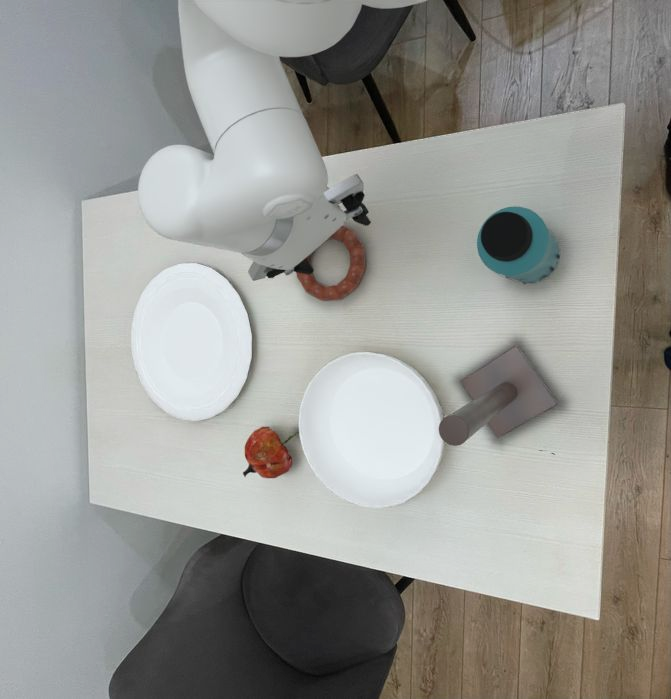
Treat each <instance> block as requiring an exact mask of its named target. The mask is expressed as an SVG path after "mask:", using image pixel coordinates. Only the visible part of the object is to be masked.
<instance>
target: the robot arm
mask: <svg viewBox="0 0 671 699" xmlns="http://www.w3.org/2000/svg"><path fill="white" fill-rule="evenodd" d="M427 1H428V0H177V3H178V4H177V8H178V9H177V11H178V22H179V32H180V41H181V52H182V60H183V67H184V73H185V79H186V83H187V86H188V90H189V93H190V96H191V99H192V102H193V105H194V107H195V110H196V112H197V116H198V118H199V121H200V123H201V126H202V128H203V131H204V133H205V135H206V138H207V141H208V143H209V145H210V147H211V150H212V153H213V154H212V153H209V152H206V151H204V150H202V149H198V148H197V147H194V146H191V145H187V144H172V145H167V146H165V147H162V148H161V149H159V150H158V151H156V152H155V153H153V154H152V156H150V157H149V158H148V160H147V161H146V162H145V165H144V166H143V169H142V170H141V173H140V176H139V180H138V184H137V201H138V207H139V210H140V213H141V215H142V217H143V219H144V221H145V222H146V224H147V225H148V226H149V227H150V228H151V230H153V232H155V233H157V234H158V235H159V236H161V237H163V238H165V239H167V240H171V241H175V242H181V243H185V244H192V245H196V246H201V247H207V248H212V249H217V250H223V251H228V252H233V253H239V254H241V255H242V256H244V257H246V258H247V259H249V260H250V261H252V263H251V265H250V266H249V269H248V270H247V274H248V275H249V277H250V279H251V281H253V282H255V281H258V280H262V279H265V278H267V279H274V278H275V277H277V276H279V275H281V274H284V275H285V276H289V275H291V274H293V273H303V274H309V275H310V274H312V275H313V273H314V268H313V266H312V264H311V262H310V263H309V261H308V260H307V258H306V257H307V256H308V255H310V254H311V253H312V254H313V252H315V251H316V250H317V249H318V248H319V247H320V246H322V245H323V244H324V243H325V242H326V241H327V240H329V239H328V238H329V237H330V236H331V235H333V234H334V233H335V232H336V231H337V230H338V229H339V228H340V227H341V226H344V224H345V223H346V221H347V220H350V219H352V220H353V222H356V223H358V224H360V225H362V226H365V227H368V226H370V225H371V223H372V221H371V219H370V218H369V217H368V214H369V213H370V211H369V209H368V207H367V206H366V205H365V203H363V200H364V198H365V193H364V190H365V189H364V188H365V185H364V182H363V180H362V179H361V176H360V175H359V174H358V173H355V174H353V175H351V176H349V177H348V178H345V179H344V180H342V181H340V182H339V183H337V184H335V185H333V186H332V187H329V186H328V184H329V175H328V170H327V166H326V163H325V161H324V159H323V157H322V154H321V151H320V149H319V147H318V145H317V142H316V140H315V138H314V135H313V132H312V131H311V129H310V126H309V124H308V121H307V119H306V118H305V115H304V114H303V111H302V108H301V106H300V104H299V101H298V100H297V97H296V95H295V92H294V90H293V87H292V86H291V83H290V80H289V78H288V76H287V73H286V71H285V68H284V66H283V64H282V60H281V59H280V57H281V58H301V57H307V56H311V55H312V56H313V55H316V54H318V53H321V52H323V51H326V50H328V49H329V48H332V47H333V46H335V45H336V44H337V43H338V42H340V41H341V40H342V39H343V38H344V37H345V36H346V35H347V34H348V33H349V32H350V31H351V29H352V28H353V26H354V25H355V23H356V20H357V19H358V16H359V14H360V12H361V10H362V6H367V7H370V8H373V9H374V8H375V9H381V10H382V9H383V10H385V9H388V10H389V9H399V8H405V7H409V6H414V5H418V4H422V3H425V2H427ZM340 204H342V205H343V207H344V208H345V210H343V209H342V208H341V207H340Z"/></svg>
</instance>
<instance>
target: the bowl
mask: <svg viewBox="0 0 671 699" xmlns="http://www.w3.org/2000/svg"><path fill="white" fill-rule="evenodd" d="M444 418H445V417H444V414H443V410H442V406H441V404H440V401H439V400H438V397H437V395H436V393H435V392H434V390H433V388H432V387H431V386H430V384H429V383H428V381H427V380H426V378H424V377H423V376H422V375H421V374H420V373H419V372H418V371H417V370H416V369H415V368H414V367H412V366H411V365H409V364H407V363H406V362H404V361H403V360H401V359H399V358H397V357H394V356H392V355H388V354H383V353H379V352H374V351H373V352H372V351H355V352H350V353H346V354H342V355H340V356H338V357H336V358H335V359H332V360H330V361H329V362H327V363H326V364H325V365H324V366H323V367H321V368H320V369H319V370H318V371H317V372H316V373H315V374H314V376H313V377H312V379H311V380H310V381H309V383H308V384H307V387H306V389H305V390H304V393H303V395H302V399H301V402H300V405H299V412H298V432H299V433H298V434H299V435H298V436H299V439H300V443H301V448H302V451H303V454H304V456H305V459H306V460H307V463H308V465H309V467H310V468H311V470H312V471H313V473H314V475H315V476H316V477H317V478H318V479H319V481H320V482H321V483H322V484H323V485H324V486H325V487H326V488H327V489H328V490H329V491H331V493H333V494H335V495H336V496H337V497H339V498H341V499H342V500H344V501H346V502H348V503H350V504H354V505H357V506H360V507H363V508H372V509H384V508H385V509H386V508H391V507H395V506H398V505H402V504H403V503H406V502H408V501H409V500H411V499H413V498H414V497H416V496H417V495H418V494H420V493H421V491H422V490H423V489H424V488H425V487H426V486H427V485H428V484H429V483H430V481H431V479H432V478H433V476H434V474H435V473H436V471H437V469H438V468H439V466H440V463H441V460H442V457H443V454H444V450H445V444H446V443H445V442H444V441H443V440H442V438H441V437H440V434H439V424H440V422H441V421H442V420H443V419H444Z"/></svg>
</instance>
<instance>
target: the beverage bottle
mask: <svg viewBox="0 0 671 699" xmlns="http://www.w3.org/2000/svg"><path fill="white" fill-rule="evenodd" d="M476 248H477V253H478V256H479V258H480V260H481V262H482V263H483V265H485V266H486V268H487V269H489V270H490V271H492V272H493V273H495V274H497V275H499V276H503V277H505V278H507V279H508V280H513V281H515V282H516V283H519V284H523V285H528V284H533V285H534V284H538V283H541V282H544V281H545V280H546V279H547V278H549V277H551V275H552V274H553V273H555V271H556V269H557V268H558V266H559V263H560V261H561V254H562V252H561V249H560V247H559V243H558V241H557V238H556V237H555V236H554V232H553V231H551V230H550V228H548V227H547V225H546V222H545V221H544V219H543V218H542V217H541V216H540V215H539V214H538V213H536V212H535V211H533V210H532V209H530V208H527V207H523V206H516V205H513V206H508V207H507V206H506V207H504V208H500V209H499V210H496V211H495V212H493V213H491V214H490V215H489V216H488V217H487V218H486V220H485V221H483V223H482V225H481V227H480V228H479V231H478V234H477V239H476Z"/></svg>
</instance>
